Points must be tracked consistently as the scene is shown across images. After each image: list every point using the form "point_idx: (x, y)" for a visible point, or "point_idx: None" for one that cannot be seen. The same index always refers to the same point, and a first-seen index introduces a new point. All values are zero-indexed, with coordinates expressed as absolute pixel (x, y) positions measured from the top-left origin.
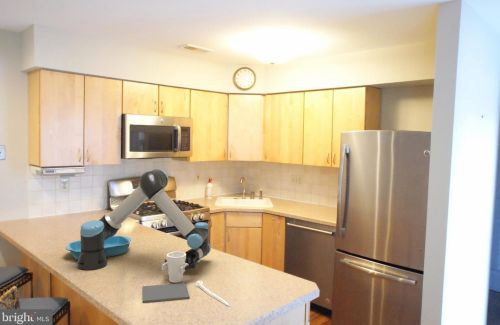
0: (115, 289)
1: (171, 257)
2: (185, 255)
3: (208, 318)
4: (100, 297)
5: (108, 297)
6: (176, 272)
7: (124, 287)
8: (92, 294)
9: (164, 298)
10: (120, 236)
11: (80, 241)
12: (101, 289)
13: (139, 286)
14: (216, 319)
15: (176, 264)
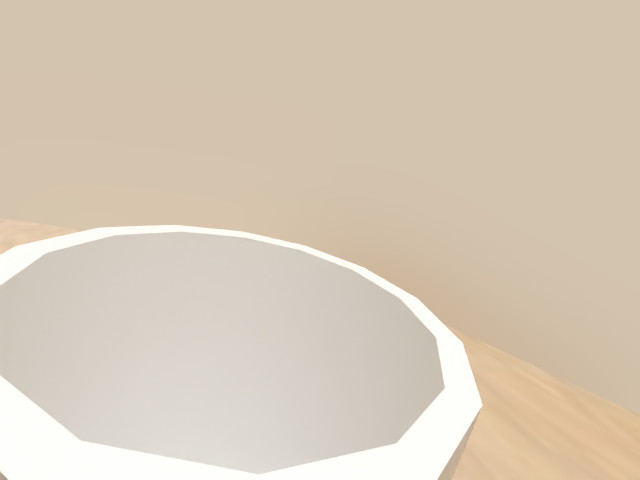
0: (550, 427)
1: (293, 245)
2: (14, 251)
3: (53, 230)
4: (512, 361)
5: (484, 359)
6: (183, 445)
7: (538, 452)
8: (571, 384)
9: None
10: None
11: None
12: (608, 427)
13: (469, 470)
14: (23, 223)
15: (202, 332)
